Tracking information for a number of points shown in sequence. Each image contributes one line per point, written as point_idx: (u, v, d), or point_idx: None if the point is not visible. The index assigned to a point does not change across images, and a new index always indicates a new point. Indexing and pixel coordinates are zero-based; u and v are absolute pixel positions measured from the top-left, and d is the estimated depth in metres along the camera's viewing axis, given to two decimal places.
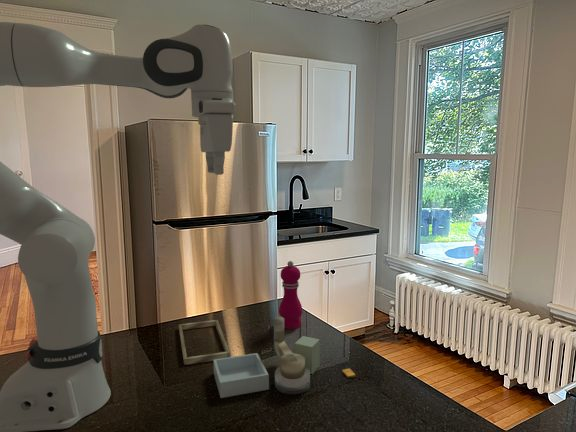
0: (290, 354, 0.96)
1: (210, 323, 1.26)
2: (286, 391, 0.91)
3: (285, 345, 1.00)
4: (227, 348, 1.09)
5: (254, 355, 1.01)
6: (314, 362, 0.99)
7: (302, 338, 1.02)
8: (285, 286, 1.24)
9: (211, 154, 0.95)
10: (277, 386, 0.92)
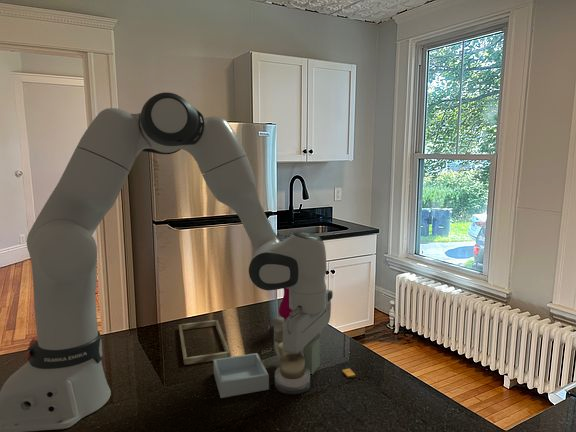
0: (290, 354, 0.96)
1: (210, 323, 1.26)
2: (286, 391, 0.91)
3: None
4: (227, 348, 1.09)
5: (254, 355, 1.01)
6: (314, 362, 0.99)
7: None
8: None
9: None
10: (277, 386, 0.92)
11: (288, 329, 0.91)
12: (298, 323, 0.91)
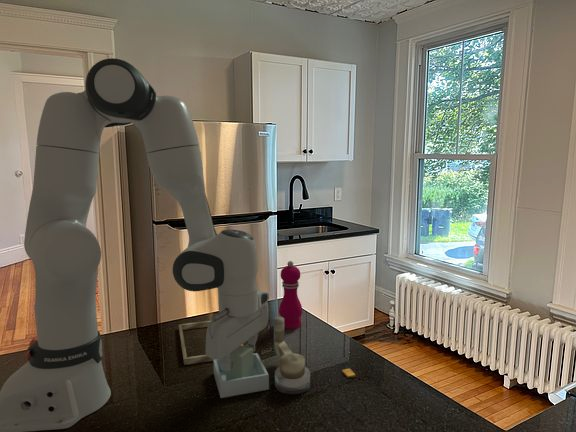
0: (290, 354, 0.96)
1: None
2: (286, 391, 0.91)
3: (285, 345, 1.00)
4: None
5: (254, 355, 1.01)
6: (245, 373, 0.94)
7: None
8: (285, 286, 1.24)
9: None
10: (277, 386, 0.92)
11: (210, 333, 0.85)
12: (221, 327, 0.85)
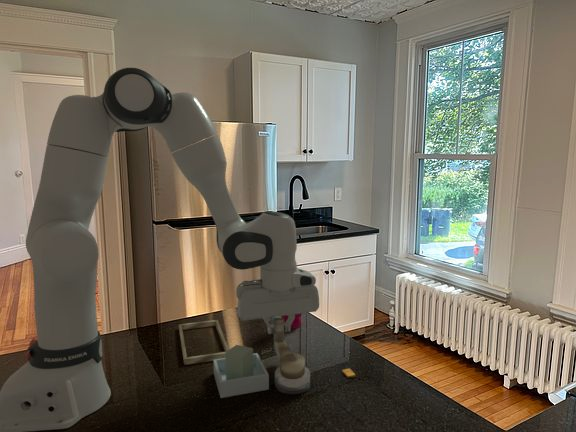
0: (290, 354, 0.96)
1: (210, 323, 1.26)
2: (286, 391, 0.91)
3: (285, 345, 1.00)
4: (227, 348, 1.09)
5: (254, 355, 1.01)
6: (245, 373, 0.94)
7: (235, 347, 0.96)
8: None
9: None
10: (277, 386, 0.92)
11: (237, 295, 0.98)
12: (245, 292, 0.97)
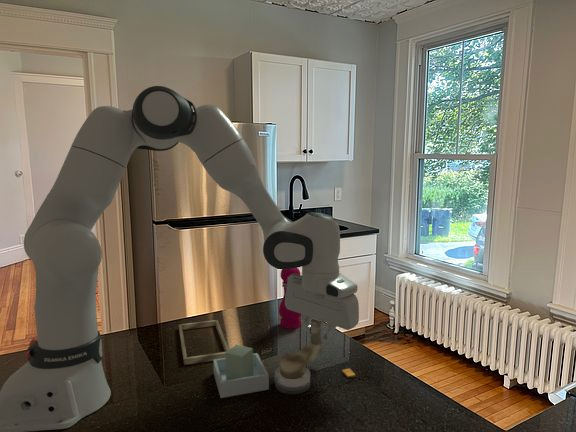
0: (299, 355, 0.95)
1: (210, 323, 1.26)
2: (286, 391, 0.91)
3: (310, 348, 0.99)
4: (227, 348, 1.09)
5: (254, 355, 1.01)
6: (245, 373, 0.94)
7: (235, 347, 0.96)
8: (285, 286, 1.24)
9: None
10: (277, 386, 0.92)
11: None
12: (288, 283, 1.04)
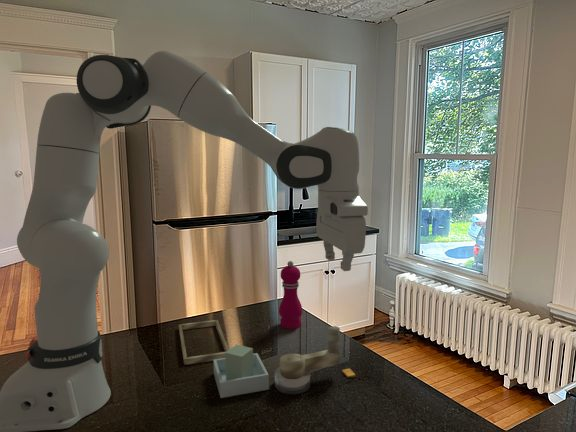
0: (302, 358, 0.94)
1: (210, 323, 1.26)
2: (286, 391, 0.91)
3: (321, 354, 0.96)
4: (227, 348, 1.09)
5: (254, 355, 1.01)
6: (245, 373, 0.94)
7: (235, 347, 0.96)
8: (285, 286, 1.24)
9: None
10: (277, 386, 0.92)
11: None
12: None
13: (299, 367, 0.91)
